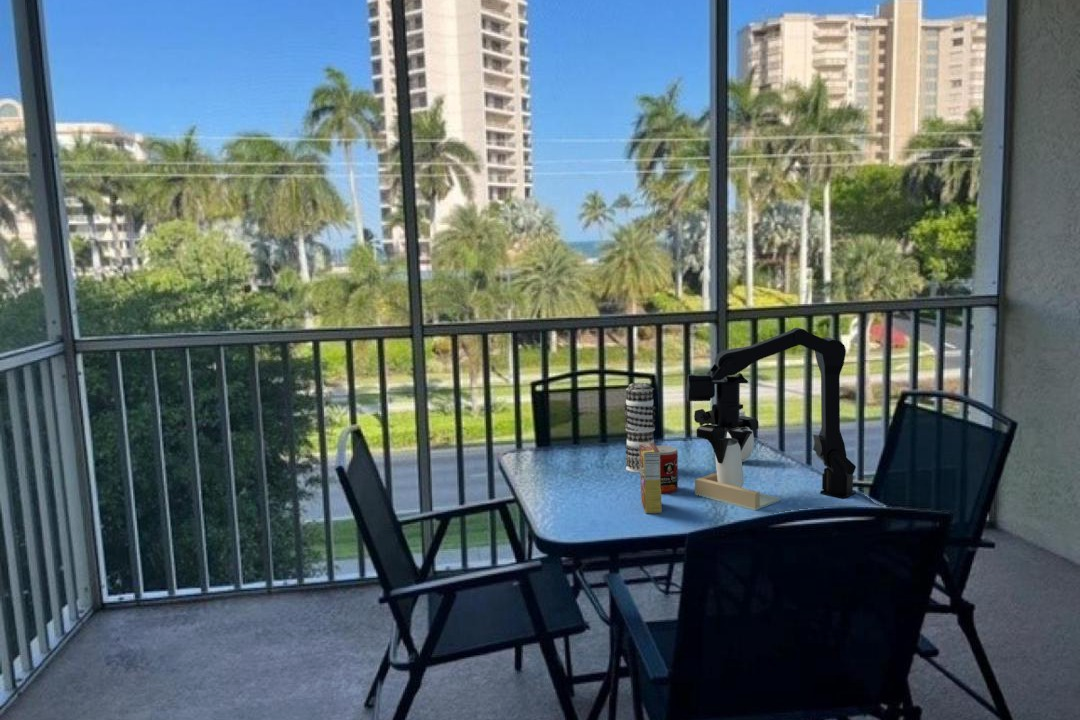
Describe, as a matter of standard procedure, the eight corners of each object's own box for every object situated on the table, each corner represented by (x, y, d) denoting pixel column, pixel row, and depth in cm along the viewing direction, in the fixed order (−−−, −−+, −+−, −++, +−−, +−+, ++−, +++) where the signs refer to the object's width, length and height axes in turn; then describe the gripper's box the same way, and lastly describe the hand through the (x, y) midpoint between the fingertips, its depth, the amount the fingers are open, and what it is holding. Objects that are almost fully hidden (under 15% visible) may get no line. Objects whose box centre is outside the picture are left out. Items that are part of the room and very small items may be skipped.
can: (715, 490, 201) (711, 445, 199) (721, 480, 207) (717, 437, 204) (741, 491, 198) (736, 446, 196) (746, 481, 204) (742, 437, 201)
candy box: (639, 502, 197) (639, 443, 195) (656, 502, 197) (656, 442, 195) (643, 514, 189) (643, 451, 187) (661, 513, 188) (661, 451, 187)
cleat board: (780, 500, 196) (780, 484, 195) (754, 510, 189) (755, 493, 188) (721, 486, 210) (721, 471, 209) (695, 494, 202) (695, 479, 202)
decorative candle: (621, 472, 226) (620, 386, 223) (628, 463, 234) (627, 381, 231) (653, 474, 223) (652, 387, 220) (658, 465, 232) (658, 381, 228)
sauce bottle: (754, 465, 229) (755, 404, 227) (727, 465, 230) (727, 404, 228) (752, 458, 236) (752, 399, 234) (725, 458, 238) (725, 399, 235)
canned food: (655, 495, 203) (655, 453, 202) (643, 486, 211) (643, 446, 209) (683, 492, 205) (682, 450, 204) (670, 483, 213) (669, 444, 211)
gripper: (724, 392, 211) (724, 449, 213) (679, 402, 199) (679, 462, 201) (759, 397, 203) (759, 456, 205) (715, 407, 191) (715, 470, 193)
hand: (728, 460), depth 201 cm, fingers closed on can, 6 cm apart
